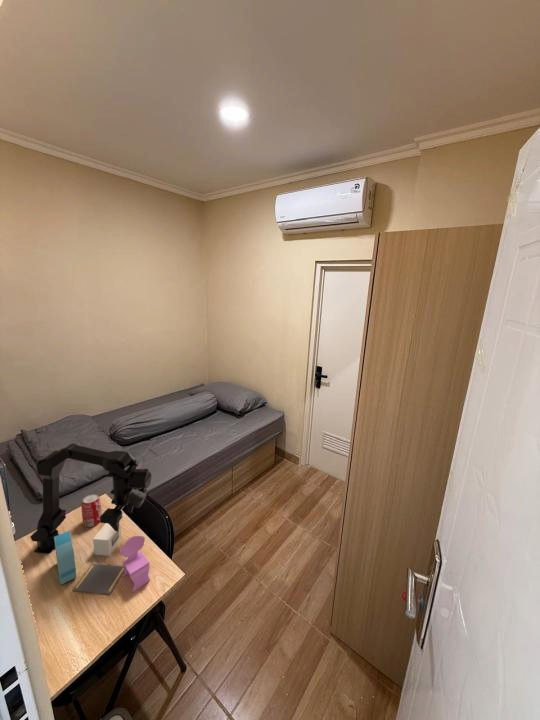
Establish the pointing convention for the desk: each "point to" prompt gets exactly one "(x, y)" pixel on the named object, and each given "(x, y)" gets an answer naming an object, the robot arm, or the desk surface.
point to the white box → (106, 540)
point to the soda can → (91, 510)
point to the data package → (65, 557)
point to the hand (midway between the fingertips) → (123, 521)
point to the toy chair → (135, 561)
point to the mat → (100, 579)
